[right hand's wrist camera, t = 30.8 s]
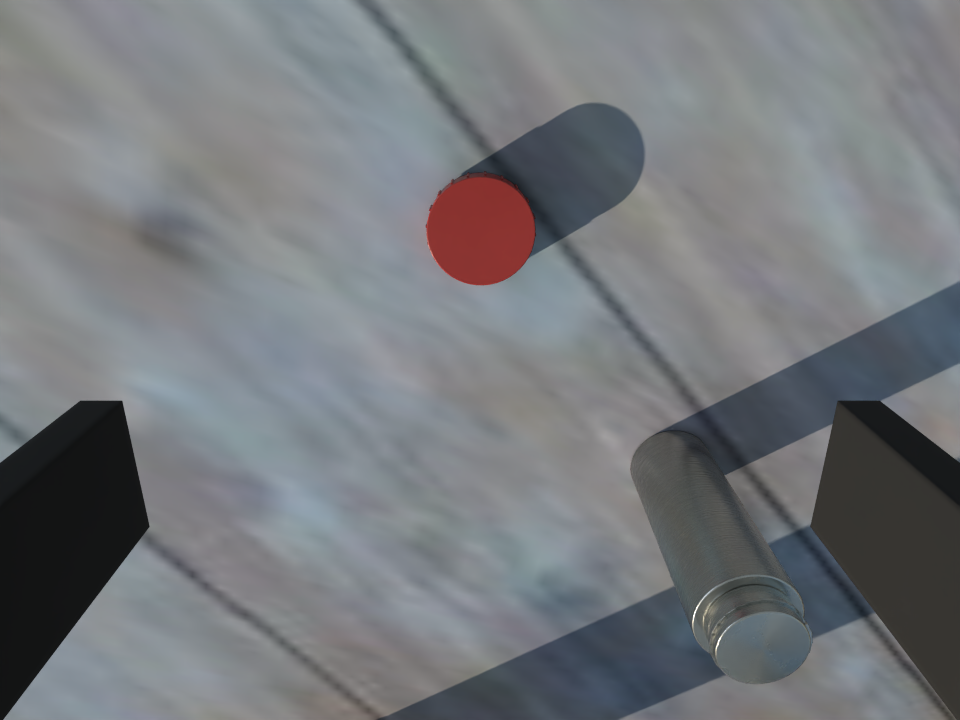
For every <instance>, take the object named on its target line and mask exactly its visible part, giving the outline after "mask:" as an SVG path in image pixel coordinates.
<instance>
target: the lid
mask: <svg viewBox="0 0 960 720" xmlns="http://www.w3.org/2000/svg"><path fill="white" fill-rule="evenodd" d="M528 203H529V201H528V198H527V197H526V198H525V196H524V195H523V194H522V192H521V191H520V190H519V189H518V186H517V185H516V184H515V185H514V184H513V183H511V182H510V181H508V180H507V179H505V178H503V176H502V175H501V176H498V175H495V174H490V173H486V171H484V173H471V174H469V173H467V175H464V176H461V177H459V178H457V179H455V180H454V179H452V180H451V183H449V184H448V185H447V186H446V187H445V188H444V189H443V190H442V191H441V190H440V191H439V193H438V196H437V198H436V200H435V202H434V204H433V205H431V207H430V209H429V211H430V214H429V217H428V221H427V224H426V228H427V240H428V245H429V248H430V251H431V253H432V256H433V257H434V259H435V261H436V262H437V263H438V265H439V266H440V267H441V268H442V269H443V270H444V271H445V272H446V273H447V274H449V275H450V276H451V277H453V278H455V279H457V280H459V281H461V282H464V283H468V284H472V285H490V284H494V283H498V282H501V281H503V280H505V279H507V278H509V277H511V276H512V275H513V274H515V273H516V272H517V271H518V270H519V269H520V268H521V267H522V266H523V265H524V263H525V262H526V260H527V259H528V257H529V255H530V253H531V252H532V248H533V245H534V240H535V236H536V233H535V222H534V219H535V216H534V214H533V213H532V211H531V208H530V206H529V204H528Z"/></svg>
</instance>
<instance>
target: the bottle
mask: <svg viewBox="0 0 960 720" xmlns="http://www.w3.org/2000/svg"><path fill="white" fill-rule="evenodd" d="M631 475H632V479H633V481H634V484H635V487H636V489H637V492H638V494H639V497H640V499H641V502H642V504H643V507H644V509H645V512H646V515H647V517H648V520H649V522H650V525H651V527H652V530H653V532H654V535H655V537H656V540H657V543H658V545H659V548H660V550H661V553H662V555H663V558H664V560H665V563H666V565H667V568H668V571H669V573H670V576H671V578H672V581H673V583H674V586H675V588H676V591H677V593H678V596H679V599H680V601H681V604H682V606H683V609H684V611H685V614H686V616H687V619H688V621H689V624H690V627H691V629H692V632H693V634H694V636H695V639H696V640H697V642H698V643H699V645H700V646H701V647H702V648H703V649H704V650H706V651H707V652H708V653H710V654H711V656H712V658H713V660H714V662H715V664H716V665H717V666H718V667H719V668H720V669H721V670H722V671H723V672H724V673H725V674H726V675H727V676H729V677H730V678H732V679H734V680H736V681H739V682H742V683H747V684H765V683H770V682H774V681H777V680H780V679H782V678H785V677H786V676H788V675H790V674H791V673H793V672H794V671H795V670H797V669H798V668H799V667H800V666H801V665H802V664H803V662H804V661H805V660H806V658H807V656H808V654H809V653H810V650H811V645H812V643H813V640H812V632H811V630H810V627H809V625H808V623H807V622H805V620H804V604H803V601H802V598H801V596H800V594H799V592H798V591H797V589H796V588H795V586H794V585H793V583H792V581H791V580H790V578H789V577H788V575H787V574H786V572H785V570H784V569H783V567H782V566H781V564H780V563H779V561H778V559H777V558H776V556H775V555H774V553H773V552H772V550H771V548H770V547H769V545H768V544H767V542H766V540H765V539H764V537H763V536H762V534H761V533H760V531H759V529H758V528H757V526H756V525H755V523H754V522H753V520H752V518H751V517H750V515H749V514H748V512H747V511H746V509H745V507H744V506H743V504H742V503H741V501H740V500H739V498H738V496H737V495H736V493H735V492H734V490H733V489H732V487H731V485H730V484H729V482H728V481H727V479H726V477H725V476H724V474H723V473H722V471H721V470H720V468H719V466H718V465H717V463H716V462H715V460H714V459H713V457H712V455H711V454H710V452H709V451H708V449H707V448H706V446H705V445H704V443H703V442H702V441H701V440H700V439H698V438H697V437H696V436H694V435H692V434H689V433H686V432H682V431H666V432H662V433H659V434H656V435H654V436H652V437H650V438H649V439H647V440H646V441H645V442H643V443H642V444H641V445H640V446H639V448H638V449H637V450H636V452H635V454H634V456H633V459H632V462H631Z"/></svg>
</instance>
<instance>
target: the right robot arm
mask: <svg viewBox="0 0 960 720" xmlns="http://www.w3.org/2000/svg"><path fill="white" fill-rule="evenodd" d="M149 527H150V526H149V522H148V517H147V513H146V508H145V503H144V499H143V494H142V490H141V485H140V480H139V476H138V471H137V467H136V462H135V458H134V453H133V448H132V444H131V439H130V435H129V430H128V425H127V421H126V416H125V412H124V407H123V402H122V401H79V402H78V403H77V404H76V405H74V406H73V407H72V408H70V409H69V410H68V411H67V412H65V413H64V414H63V415H61V416H60V417H59V418H58V419H56V420H55V421H54V422H52V423H51V424H50V425H49V426H47V427H46V428H45V429H43V430H42V431H41V432H40V433H38V434H37V435H36V436H34V437H33V438H32V439H31V440H29V441H28V442H27V443H25V444H24V445H23V446H21V447H20V448H19V449H18V450H16V451H15V452H14V453H12V454H11V455H10V456H9V457H7V458H6V459H5V460H3V461H2V462H1V463H0V720H3V719H4V718H5V717H6V715H7V714H8V713H9V711H10V710H11V709H12V707H13V706H14V705H15V703H16V702H17V701H18V699H19V698H20V697H21V695H22V694H23V693H24V691H25V690H26V689H27V688H28V686H29V685H30V684H31V682H32V681H33V680H34V678H35V677H36V676H37V674H38V673H39V672H40V670H41V669H42V668H43V666H44V665H45V664H46V662H47V661H48V660H49V658H50V657H51V656H52V655H53V653H54V652H55V651H56V649H57V648H58V647H59V645H60V644H61V643H62V641H63V640H64V639H65V637H66V636H67V635H68V633H69V632H70V631H71V629H72V628H73V627H74V626H75V624H76V623H77V622H78V620H79V619H80V618H81V616H82V615H83V614H84V612H85V611H86V610H87V608H88V607H89V606H90V604H91V603H92V602H93V600H94V599H95V598H96V597H97V595H98V594H99V593H100V591H101V590H102V589H103V587H104V586H105V585H106V583H107V582H108V581H109V579H110V578H111V577H112V575H113V574H114V573H115V571H116V570H117V569H118V568H119V566H120V565H121V564H122V562H123V561H124V560H125V558H126V557H127V556H128V554H129V553H130V552H131V550H132V549H133V548H134V546H135V545H136V544H137V542H138V541H139V540H140V539H141V537H142V536H143V535H144V533H145V532H146V531H147V529H148V528H149ZM810 527H811V528H812V529H813V531H814V532H815V533H816V535H817V536H818V537H819V539H820V540H821V541H822V542H823V544H824V545H825V546H826V548H827V549H828V550H829V552H830V553H831V554H832V556H833V557H834V558H835V560H836V561H837V562H838V564H839V565H840V566H841V568H842V569H843V570H844V571H845V573H846V574H847V575H848V577H849V578H850V579H851V581H852V582H853V583H854V585H855V586H856V587H857V589H858V590H859V591H860V593H861V594H862V595H863V597H864V598H865V599H866V600H867V602H868V603H869V604H870V606H871V607H872V608H873V610H874V611H875V612H876V614H877V615H878V616H879V618H880V619H881V620H882V622H883V623H884V624H885V626H886V627H887V628H888V629H889V631H890V632H891V633H892V635H893V636H894V637H895V639H896V640H897V641H898V643H899V644H900V645H901V647H902V648H903V649H904V651H905V652H906V653H907V655H908V656H909V657H910V659H911V660H912V661H913V662H914V664H915V665H916V666H917V668H918V669H919V670H920V672H921V673H922V674H923V676H924V677H925V678H926V680H927V681H928V682H929V684H930V685H931V686H932V688H933V689H934V690H935V691H936V693H937V694H938V695H939V697H940V698H941V699H942V701H943V702H944V703H945V705H946V706H947V707H948V709H949V710H950V711H951V713H952V714H953V715H954V717H955V718H956V719H957V720H960V463H959V462H958V461H957V460H955V459H954V458H953V457H951V456H950V455H949V454H948V453H946V452H945V451H944V450H942V449H941V448H940V447H939V446H937V445H936V444H935V443H933V442H932V441H931V440H929V439H928V438H927V437H926V436H924V435H923V434H922V433H920V432H919V431H918V430H917V429H915V428H914V427H913V426H911V425H910V424H909V423H908V422H906V421H905V420H904V419H902V418H901V417H900V416H899V415H897V414H896V413H895V412H893V411H892V410H891V409H890V408H888V407H887V406H886V405H884V404H883V403H882V402H881V401H838V402H837V407H836V412H835V416H834V421H833V425H832V430H831V434H830V439H829V444H828V448H827V453H826V457H825V462H824V467H823V471H822V476H821V480H820V485H819V490H818V494H817V499H816V503H815V508H814V513H813V517H812V522H811V526H810Z"/></svg>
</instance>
